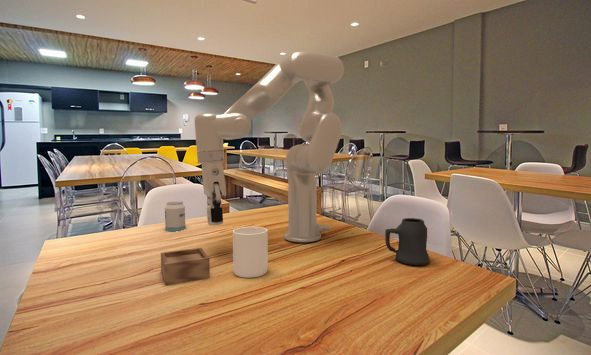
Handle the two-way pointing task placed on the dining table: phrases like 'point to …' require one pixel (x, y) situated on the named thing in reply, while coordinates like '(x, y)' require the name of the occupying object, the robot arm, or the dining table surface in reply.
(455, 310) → the dining table surface
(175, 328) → the dining table surface
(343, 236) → the dining table surface
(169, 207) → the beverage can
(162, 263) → the walnut box
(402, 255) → the mug
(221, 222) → the pill bottle
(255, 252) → the mug
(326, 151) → the robot arm
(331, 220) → the dining table surface
